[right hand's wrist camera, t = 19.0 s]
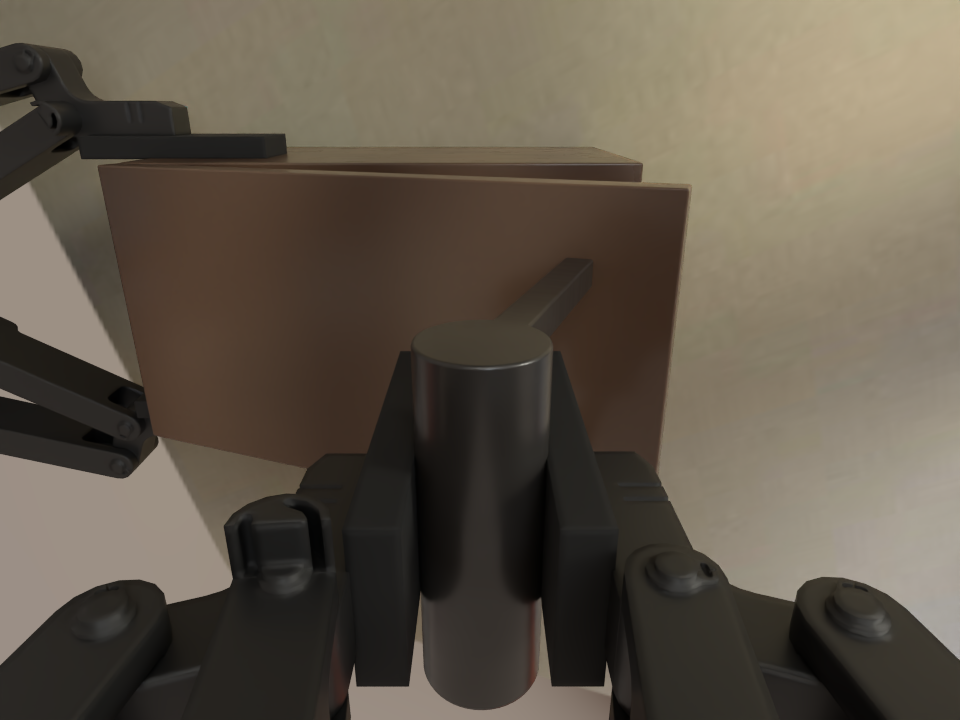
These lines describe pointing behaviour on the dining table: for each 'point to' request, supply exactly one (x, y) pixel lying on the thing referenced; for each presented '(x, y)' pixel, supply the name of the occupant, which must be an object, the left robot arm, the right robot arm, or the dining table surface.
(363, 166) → the chest
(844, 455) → the dining table surface
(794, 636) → the right robot arm
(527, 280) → the lid
